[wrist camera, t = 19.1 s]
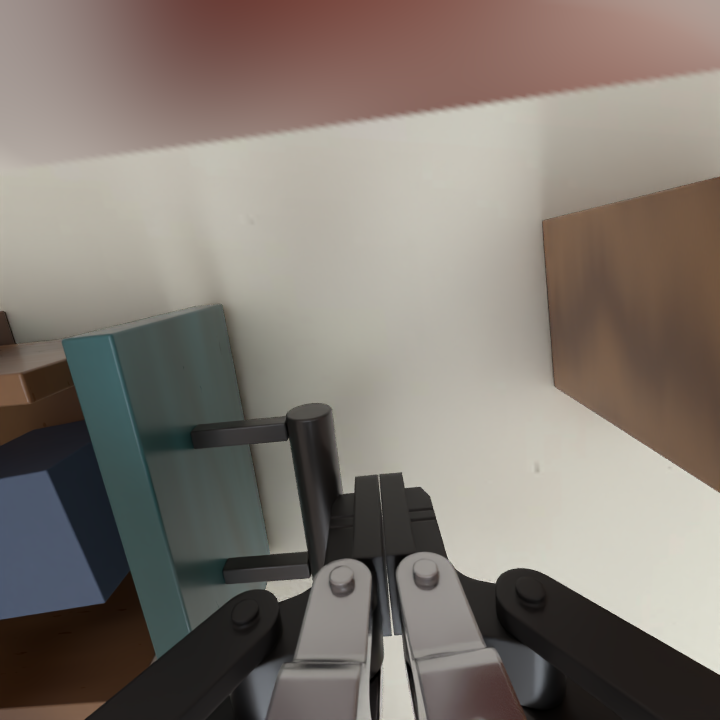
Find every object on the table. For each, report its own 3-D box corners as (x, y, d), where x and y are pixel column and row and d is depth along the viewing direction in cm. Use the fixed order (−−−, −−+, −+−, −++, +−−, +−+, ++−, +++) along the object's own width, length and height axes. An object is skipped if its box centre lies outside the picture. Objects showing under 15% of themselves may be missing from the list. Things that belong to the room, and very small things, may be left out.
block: (32, 429, 15) (-106, 498, 11) (141, 408, 15) (46, 470, 10) (75, 526, 16) (-34, 625, 12) (177, 509, 16) (105, 603, 12)
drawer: (330, 291, 15) (303, 313, 8) (363, 558, 18) (362, 731, 11) (-32, 330, 15) (-331, 379, 9) (59, 582, 18) (-113, 761, 12)
